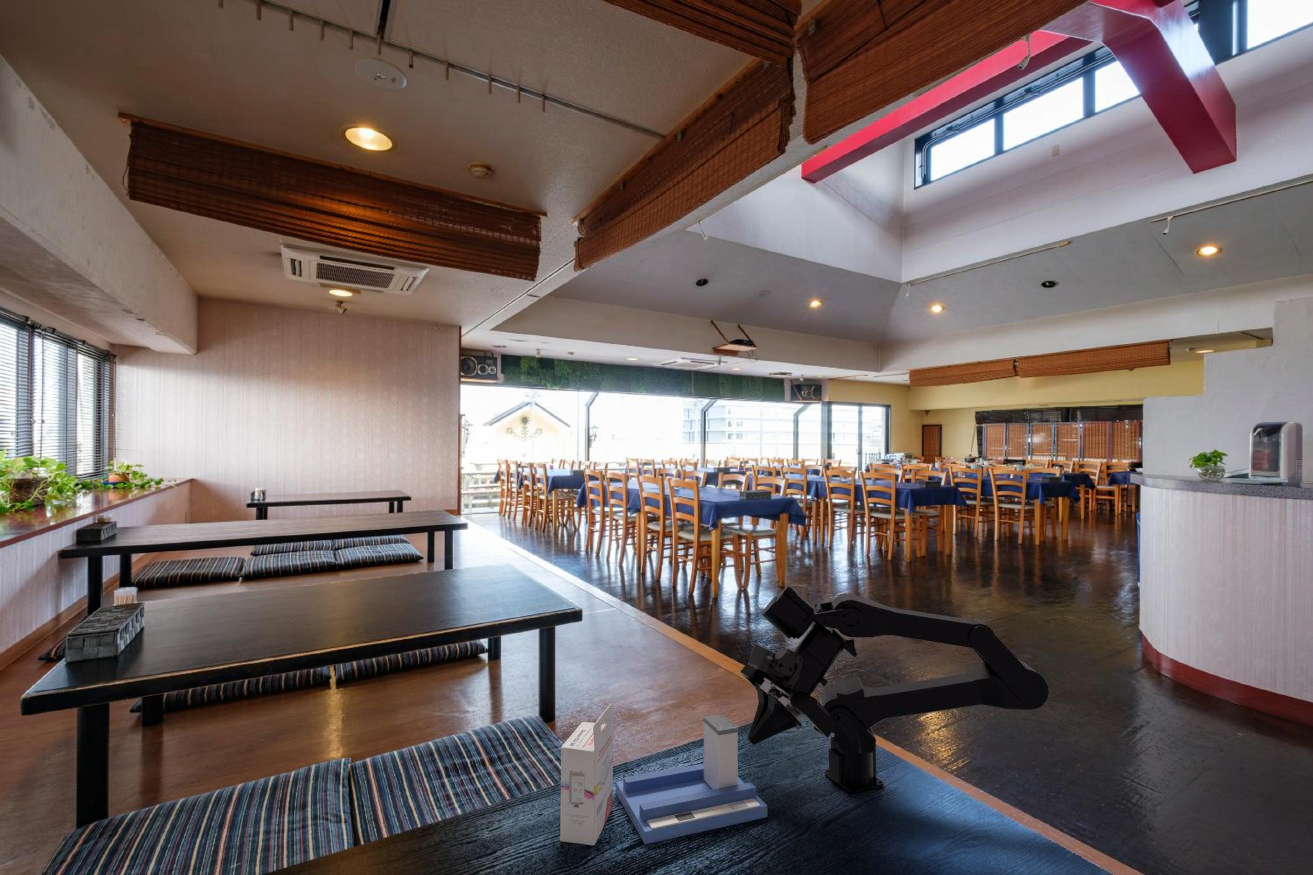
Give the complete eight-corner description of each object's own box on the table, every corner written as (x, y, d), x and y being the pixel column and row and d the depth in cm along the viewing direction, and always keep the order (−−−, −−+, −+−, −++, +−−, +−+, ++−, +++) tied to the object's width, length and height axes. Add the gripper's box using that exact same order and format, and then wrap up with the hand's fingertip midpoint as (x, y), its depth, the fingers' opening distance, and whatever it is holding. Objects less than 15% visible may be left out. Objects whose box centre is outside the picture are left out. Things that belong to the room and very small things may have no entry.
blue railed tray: (723, 772, 91) (723, 752, 91) (767, 816, 79) (767, 794, 79) (615, 792, 85) (616, 771, 85) (644, 844, 73) (645, 819, 73)
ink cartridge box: (579, 805, 81) (581, 698, 82) (613, 809, 80) (615, 701, 81) (557, 842, 73) (560, 722, 74) (594, 847, 72) (596, 726, 73)
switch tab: (722, 775, 87) (722, 714, 87) (738, 792, 82) (738, 727, 83) (702, 778, 86) (703, 716, 86) (718, 796, 81) (718, 730, 81)
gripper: (750, 613, 98) (691, 686, 93) (816, 641, 81) (747, 733, 76) (790, 656, 100) (734, 729, 95) (862, 692, 83) (798, 785, 78)
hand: (750, 742), depth 86 cm, fingers closed
